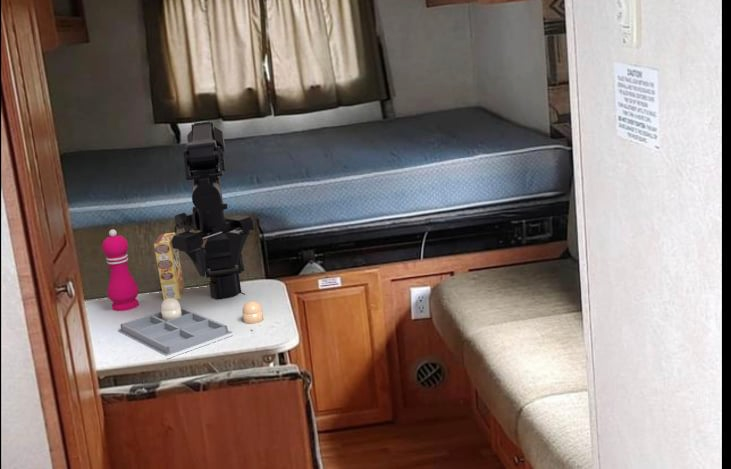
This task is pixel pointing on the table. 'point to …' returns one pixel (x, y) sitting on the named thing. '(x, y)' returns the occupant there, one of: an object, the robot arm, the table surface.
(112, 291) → the pepper mill
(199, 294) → the table surface
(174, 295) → the candy box
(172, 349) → the grey compartment tray
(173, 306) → the cream egg
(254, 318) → the beige rounded piece
